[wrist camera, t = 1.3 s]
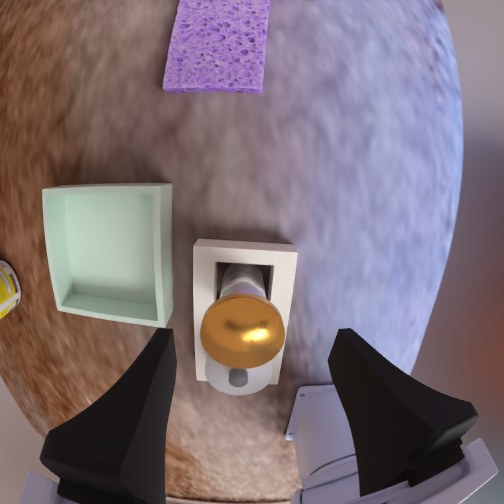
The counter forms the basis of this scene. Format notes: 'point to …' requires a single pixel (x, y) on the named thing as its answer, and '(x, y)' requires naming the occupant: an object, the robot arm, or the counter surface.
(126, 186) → the tray
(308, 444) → the robot arm
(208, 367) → the block
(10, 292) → the supplement bottle
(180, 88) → the sponges
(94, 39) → the counter surface
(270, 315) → the pin
